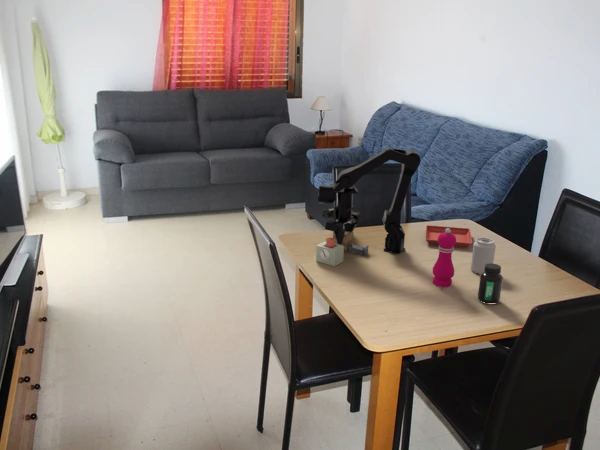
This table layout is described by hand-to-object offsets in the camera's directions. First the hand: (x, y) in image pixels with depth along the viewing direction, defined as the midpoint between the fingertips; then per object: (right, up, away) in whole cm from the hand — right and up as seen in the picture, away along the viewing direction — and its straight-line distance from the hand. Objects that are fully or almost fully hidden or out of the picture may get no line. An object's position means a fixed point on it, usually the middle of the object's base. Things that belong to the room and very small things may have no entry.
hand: (342, 242), depth 231 cm
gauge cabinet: (-6, -7, -12) cm, 15 cm away
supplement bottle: (+44, -18, -40) cm, 62 cm away
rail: (+2, -3, -1) cm, 4 cm away
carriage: (0, -2, +1) cm, 2 cm away
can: (+48, -10, -17) cm, 52 cm away
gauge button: (-6, -2, -13) cm, 14 cm away
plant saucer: (+44, 0, +13) cm, 46 cm away
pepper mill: (+32, -14, -28) cm, 45 cm away
